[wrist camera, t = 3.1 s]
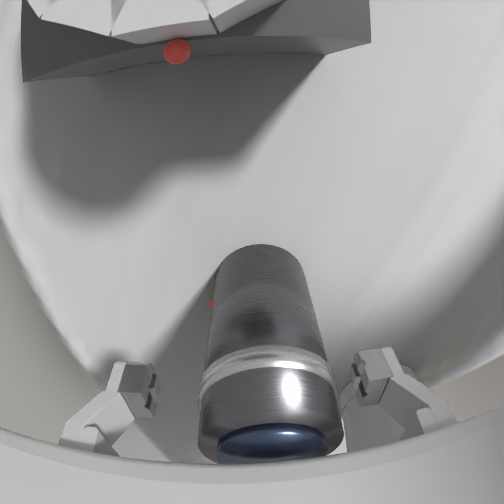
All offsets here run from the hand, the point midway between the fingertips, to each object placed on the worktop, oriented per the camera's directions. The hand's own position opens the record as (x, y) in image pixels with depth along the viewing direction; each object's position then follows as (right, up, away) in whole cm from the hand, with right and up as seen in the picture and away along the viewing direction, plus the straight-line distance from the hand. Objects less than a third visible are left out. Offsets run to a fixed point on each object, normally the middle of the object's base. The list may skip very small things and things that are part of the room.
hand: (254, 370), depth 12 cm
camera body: (-2, +16, -3) cm, 16 cm away
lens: (0, +3, +5) cm, 5 cm away
